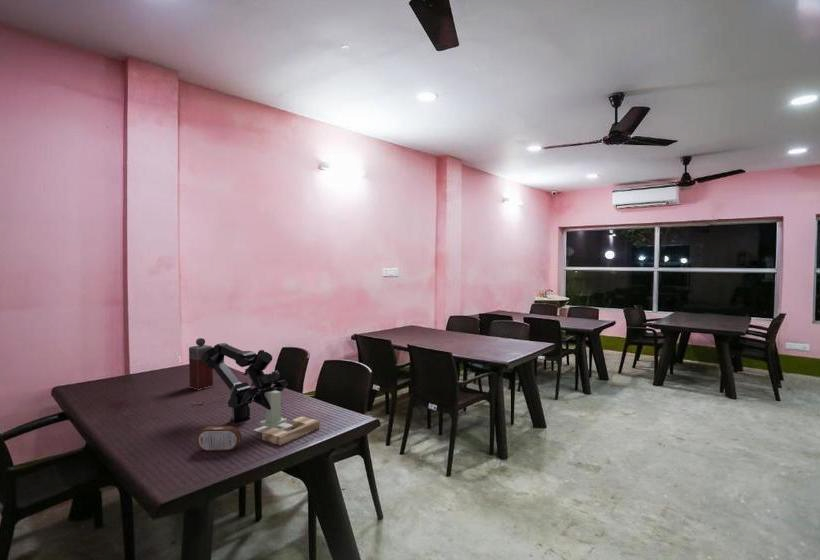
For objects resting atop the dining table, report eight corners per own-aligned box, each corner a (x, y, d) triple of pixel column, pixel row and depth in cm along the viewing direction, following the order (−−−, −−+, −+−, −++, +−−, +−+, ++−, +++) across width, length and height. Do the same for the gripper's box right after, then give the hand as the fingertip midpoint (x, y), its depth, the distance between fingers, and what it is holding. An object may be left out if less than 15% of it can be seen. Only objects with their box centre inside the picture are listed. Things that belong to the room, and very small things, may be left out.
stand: (262, 439, 158) (262, 431, 158) (301, 423, 175) (301, 416, 175) (280, 445, 153) (280, 437, 153) (319, 428, 170) (319, 420, 169)
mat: (253, 430, 167) (253, 429, 167) (277, 421, 178) (277, 420, 178) (269, 435, 162) (269, 434, 162) (293, 426, 172) (293, 425, 172)
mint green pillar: (259, 424, 168) (259, 393, 168) (275, 418, 175) (275, 388, 175) (271, 427, 165) (270, 396, 164) (287, 421, 171) (286, 391, 171)
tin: (241, 447, 151) (241, 424, 151) (238, 451, 148) (238, 428, 148) (200, 448, 151) (199, 425, 151) (196, 452, 148) (195, 429, 148)
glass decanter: (202, 383, 241) (201, 336, 241) (213, 386, 235) (212, 337, 234) (187, 387, 234) (186, 338, 233) (197, 390, 227) (196, 339, 227)
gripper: (247, 369, 164) (265, 402, 158) (284, 361, 179) (302, 390, 174) (235, 386, 168) (252, 418, 162) (272, 376, 184) (289, 405, 178)
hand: (275, 407), depth 169 cm, fingers closed on mint green pillar, 5 cm apart
